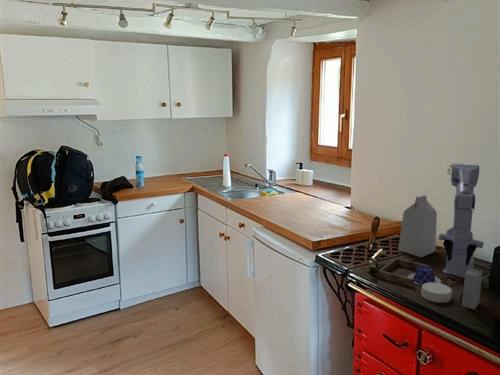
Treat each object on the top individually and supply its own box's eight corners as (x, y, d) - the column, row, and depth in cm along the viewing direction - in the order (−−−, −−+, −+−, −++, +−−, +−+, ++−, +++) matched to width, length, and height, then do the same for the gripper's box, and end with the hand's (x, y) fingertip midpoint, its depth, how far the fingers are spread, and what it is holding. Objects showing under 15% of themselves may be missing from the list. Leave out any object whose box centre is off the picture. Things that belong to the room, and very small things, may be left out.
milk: (412, 244, 207) (416, 191, 202) (435, 251, 198) (440, 196, 193) (398, 250, 200) (402, 195, 194) (421, 257, 191) (426, 200, 185)
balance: (378, 260, 187) (379, 246, 185) (387, 263, 184) (388, 248, 183) (364, 270, 177) (365, 254, 176) (374, 272, 174) (375, 257, 173)
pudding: (401, 279, 169) (402, 266, 168) (419, 272, 175) (420, 260, 174) (428, 290, 159) (429, 277, 158) (447, 282, 165) (448, 270, 164)
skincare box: (465, 299, 151) (469, 267, 149) (479, 303, 148) (483, 270, 146) (461, 306, 146) (464, 273, 144) (475, 309, 144) (478, 276, 141)
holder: (429, 272, 174) (429, 265, 174) (412, 287, 161) (413, 280, 160) (395, 263, 183) (396, 257, 183) (377, 277, 170) (377, 270, 169)
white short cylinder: (437, 305, 147) (438, 296, 147) (414, 293, 156) (415, 284, 155) (457, 299, 151) (458, 290, 151) (434, 288, 160) (435, 279, 160)
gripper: (437, 225, 156) (434, 260, 159) (481, 233, 147) (477, 270, 150) (443, 221, 162) (440, 255, 164) (486, 228, 152) (482, 264, 155)
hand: (458, 262), depth 157 cm, fingers open, 5 cm apart
